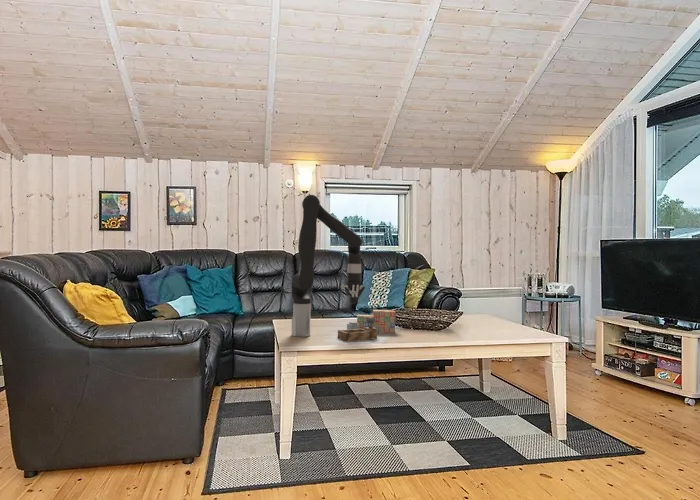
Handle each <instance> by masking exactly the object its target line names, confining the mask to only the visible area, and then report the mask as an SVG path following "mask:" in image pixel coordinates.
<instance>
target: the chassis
mask: <svg viewBox="0 0 700 500" xmlns="http://www.w3.org/2000/svg"><path fill="white" fill-rule="evenodd" d="M337 338H338V339H340V340H342V341H345V342H356V341H367V340H372V339H377V338H378V333H377V328H374V327H373V323H370V322H369V327H365V328H364V329H350V330H347V329H338V330H337Z"/></svg>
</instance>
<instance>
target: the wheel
mask: <svg viewBox="0 0 700 500" xmlns="http://www.w3.org/2000/svg"><path fill="white" fill-rule="evenodd" d="M367 322H370V323H373V322H375V318H373V317H369V318H367Z"/></svg>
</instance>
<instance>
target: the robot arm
mask: <svg viewBox="0 0 700 500" xmlns="http://www.w3.org/2000/svg"><path fill="white" fill-rule="evenodd" d="M301 205H302V207H301V208H302V213H303V214H302V217H303V218H302V223H301V227H300V231H299V236H298V245H297V246H298V247H297V248H298V255H299V259H300V269H299V270H300V271H299V272H300V273H299V272H298V273H296V274H294V276H293V277H292V280H291V297H292V300H293V301H292V302H293V303H292V304H293V307H292V310H293V311H292V315H293V316H291V336H293V337H295V338H296V337H298V338H301V337H302V338H303V337H310V336H311V311H312V310H311V306H312V305H311V304H312V303H311V302H312V300H311V297H310V295H309V293H308V292H309V291H310V290H311V289H312V288H313V286H314V280H315V279H314V271H315V270H314V267H315V266H314V263H315V256H316V255H315V253H316V246H317V231H318V230H317V220H319V221H320V222H321V223H323V224H324V225H325V226H326V227H327V228H328V229H329V230H330V231H332V232H333V233H334V234H335V235H336V236H338V238H341V239H342V240H343V241H345V243H346V244H347V251H348V257H347V271H346V272H347V273H346V275H347V277H346V280H347V283H346V285H344V286H342V289H343V291H344V293H345V294H346V296H348V297H349V302H350V304H351V305H356V304H358V297H361V296H362V294H363V292H364V290H365V289H366V286H363V285H362V255H361V246H362V245H363V241H362V240H363V239H362V237H361V236H359V235H358V234H357V233H355V231H353V230H351V229H350V228H349V227H348V226H347V225H345V223H343V222H342V221H341V220H340V219H338V218H336V217H335V216H334V215H332V214H331V213H330V212H328V211H327V210H326V209H325V208H324V207H323V206H322V205H321V201H320V198H319V197H318V196H316V195H315V194H307V195H306V196H305V197H304V198H303V200H302V204H301Z"/></svg>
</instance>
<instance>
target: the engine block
mask: <svg viewBox="0 0 700 500" xmlns="http://www.w3.org/2000/svg"><path fill="white" fill-rule="evenodd" d="M350 329H359V324H357V321H349V322H347V324H346V330H350Z"/></svg>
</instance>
